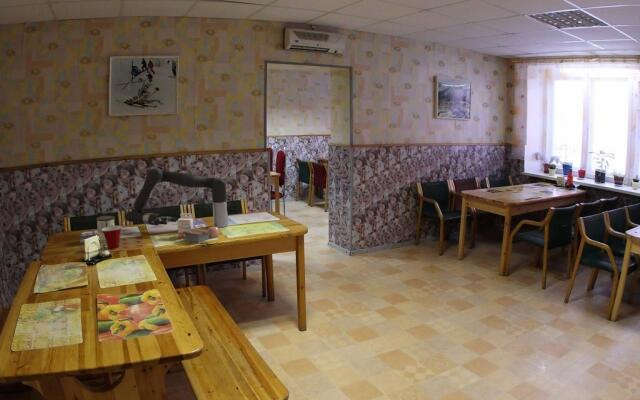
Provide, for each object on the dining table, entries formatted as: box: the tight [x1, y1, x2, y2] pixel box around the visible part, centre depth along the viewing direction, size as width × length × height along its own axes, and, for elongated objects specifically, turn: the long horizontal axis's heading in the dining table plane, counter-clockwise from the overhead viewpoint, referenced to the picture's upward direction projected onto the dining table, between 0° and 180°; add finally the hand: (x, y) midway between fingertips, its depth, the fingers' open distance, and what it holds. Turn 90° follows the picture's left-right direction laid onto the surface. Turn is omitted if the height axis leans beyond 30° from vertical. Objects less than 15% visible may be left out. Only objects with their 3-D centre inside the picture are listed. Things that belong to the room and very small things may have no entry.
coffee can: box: [95, 215, 116, 243], centre depth 284 cm, size 10×10×14 cm
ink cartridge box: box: [177, 212, 194, 239], centre depth 292 cm, size 9×5×15 cm, turn 84°
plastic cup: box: [102, 225, 122, 250], centre depth 267 cm, size 11×11×12 cm
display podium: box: [183, 227, 211, 244], centre depth 284 cm, size 12×12×6 cm
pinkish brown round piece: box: [207, 226, 220, 239], centre depth 292 cm, size 6×6×6 cm
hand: (171, 221), depth 296 cm, fingers open, 8 cm apart
